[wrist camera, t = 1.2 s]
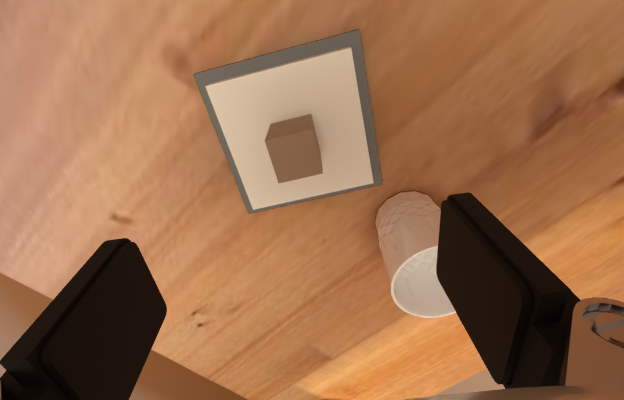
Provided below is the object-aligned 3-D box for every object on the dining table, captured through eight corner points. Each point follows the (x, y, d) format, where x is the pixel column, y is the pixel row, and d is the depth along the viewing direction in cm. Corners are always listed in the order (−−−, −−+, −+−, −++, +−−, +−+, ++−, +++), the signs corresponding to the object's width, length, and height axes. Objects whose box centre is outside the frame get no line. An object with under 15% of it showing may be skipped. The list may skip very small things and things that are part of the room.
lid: (349, 46, 26) (359, 52, 21) (371, 177, 32) (383, 207, 27) (209, 83, 27) (187, 98, 22) (254, 203, 33) (245, 236, 28)
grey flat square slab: (358, 29, 26) (359, 29, 25) (381, 181, 32) (382, 184, 32) (195, 73, 27) (193, 74, 27) (249, 211, 34) (248, 213, 33)
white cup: (457, 217, 35) (508, 283, 26) (398, 258, 37) (427, 331, 29) (414, 170, 32) (455, 226, 23) (354, 218, 35) (371, 284, 26)
